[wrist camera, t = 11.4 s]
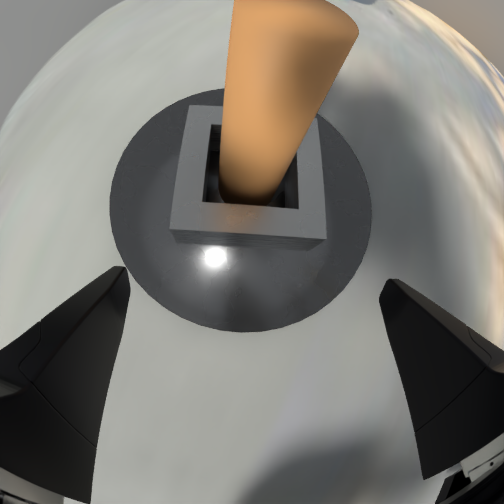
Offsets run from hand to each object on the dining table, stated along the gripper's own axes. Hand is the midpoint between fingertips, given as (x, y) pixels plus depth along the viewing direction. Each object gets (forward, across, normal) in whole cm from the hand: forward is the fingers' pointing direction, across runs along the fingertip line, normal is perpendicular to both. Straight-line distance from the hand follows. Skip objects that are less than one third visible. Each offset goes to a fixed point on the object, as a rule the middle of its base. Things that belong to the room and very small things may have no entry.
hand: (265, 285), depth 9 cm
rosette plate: (+14, 0, -2) cm, 14 cm away
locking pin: (+10, 0, 0) cm, 10 cm away
